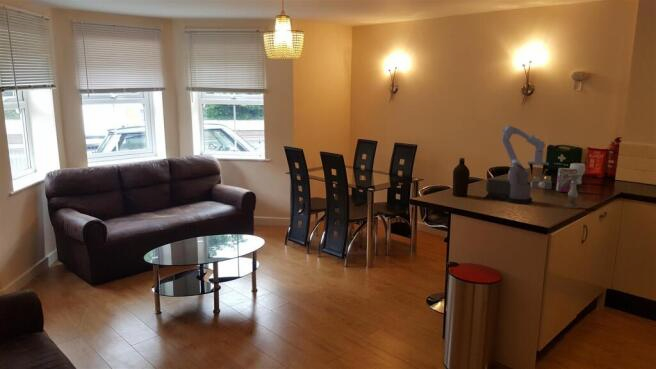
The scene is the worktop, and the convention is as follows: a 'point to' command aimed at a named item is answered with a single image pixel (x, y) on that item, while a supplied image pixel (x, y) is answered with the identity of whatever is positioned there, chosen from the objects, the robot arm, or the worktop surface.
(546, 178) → the spacer
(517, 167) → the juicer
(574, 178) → the candle holder
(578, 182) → the cup
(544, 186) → the scale
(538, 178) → the spacer
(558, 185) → the candy bar box
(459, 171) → the olive oil
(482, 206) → the worktop surface
